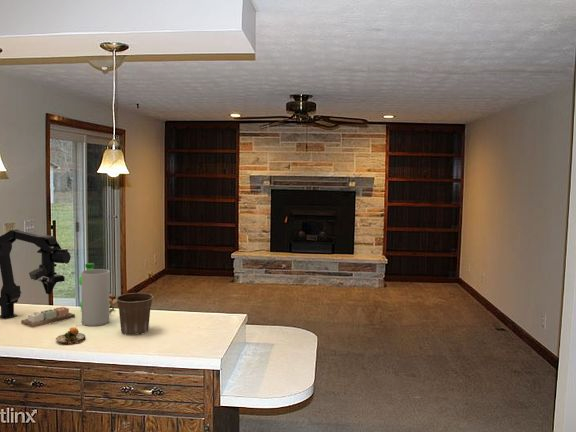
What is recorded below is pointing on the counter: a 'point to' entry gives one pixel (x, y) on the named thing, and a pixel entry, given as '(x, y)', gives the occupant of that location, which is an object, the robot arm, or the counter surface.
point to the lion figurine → (111, 304)
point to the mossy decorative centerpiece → (71, 337)
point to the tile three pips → (61, 311)
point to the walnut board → (47, 320)
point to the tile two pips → (49, 314)
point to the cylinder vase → (95, 297)
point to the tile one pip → (35, 317)
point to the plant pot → (134, 312)
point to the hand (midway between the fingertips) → (48, 294)
